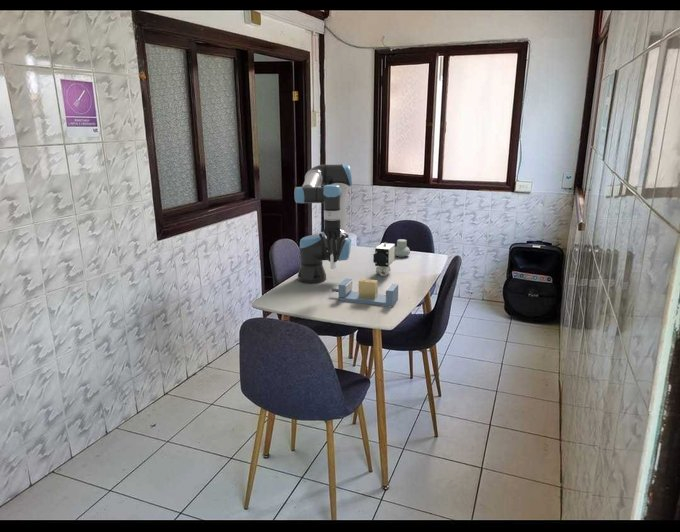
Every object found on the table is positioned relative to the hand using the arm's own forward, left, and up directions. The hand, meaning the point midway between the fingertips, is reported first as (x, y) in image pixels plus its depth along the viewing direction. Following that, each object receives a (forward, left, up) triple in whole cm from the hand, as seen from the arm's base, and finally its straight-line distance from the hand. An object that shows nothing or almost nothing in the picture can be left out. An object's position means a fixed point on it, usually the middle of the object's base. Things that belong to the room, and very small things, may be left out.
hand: (333, 268), depth 231 cm
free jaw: (+4, 0, -12) cm, 13 cm away
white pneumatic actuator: (+13, +41, -14) cm, 46 cm away
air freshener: (+13, +82, -14) cm, 84 cm away
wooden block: (+17, 0, -12) cm, 21 cm away
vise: (+17, 0, -14) cm, 22 cm away
